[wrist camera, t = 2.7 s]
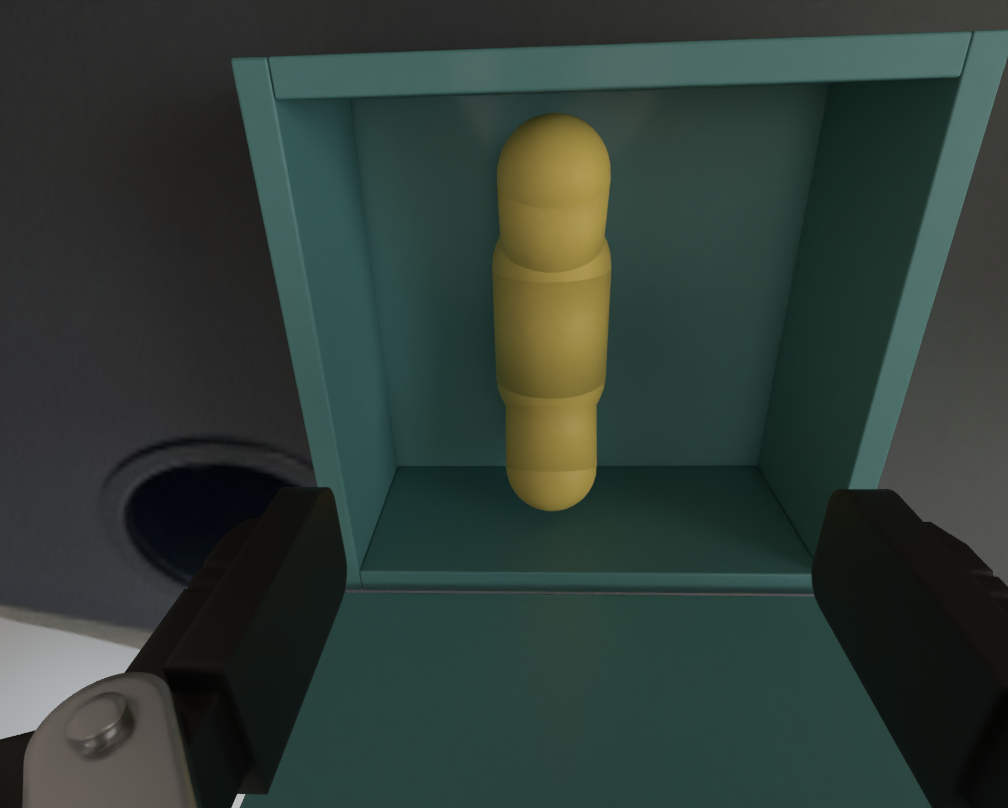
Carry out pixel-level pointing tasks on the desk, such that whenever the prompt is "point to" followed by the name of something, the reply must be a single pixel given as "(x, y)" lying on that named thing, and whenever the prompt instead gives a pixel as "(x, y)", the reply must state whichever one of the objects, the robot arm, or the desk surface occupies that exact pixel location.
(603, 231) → the yellow segmented capsule
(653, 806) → the lid
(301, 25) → the desk surface
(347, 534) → the bread box
